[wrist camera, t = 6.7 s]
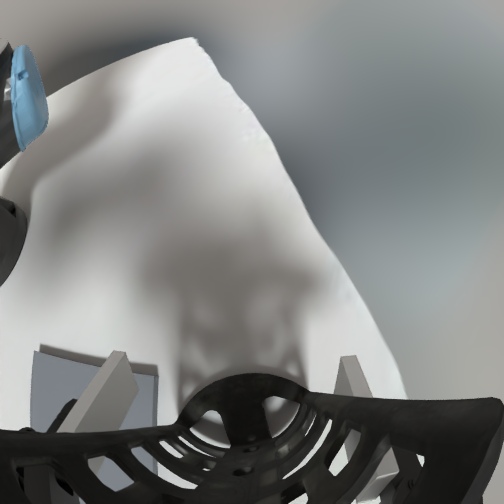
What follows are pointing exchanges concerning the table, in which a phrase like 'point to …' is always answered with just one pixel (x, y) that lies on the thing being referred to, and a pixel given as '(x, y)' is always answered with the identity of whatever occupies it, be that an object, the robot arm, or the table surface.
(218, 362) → the table surface
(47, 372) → the mat
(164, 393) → the table surface
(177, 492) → the holder
